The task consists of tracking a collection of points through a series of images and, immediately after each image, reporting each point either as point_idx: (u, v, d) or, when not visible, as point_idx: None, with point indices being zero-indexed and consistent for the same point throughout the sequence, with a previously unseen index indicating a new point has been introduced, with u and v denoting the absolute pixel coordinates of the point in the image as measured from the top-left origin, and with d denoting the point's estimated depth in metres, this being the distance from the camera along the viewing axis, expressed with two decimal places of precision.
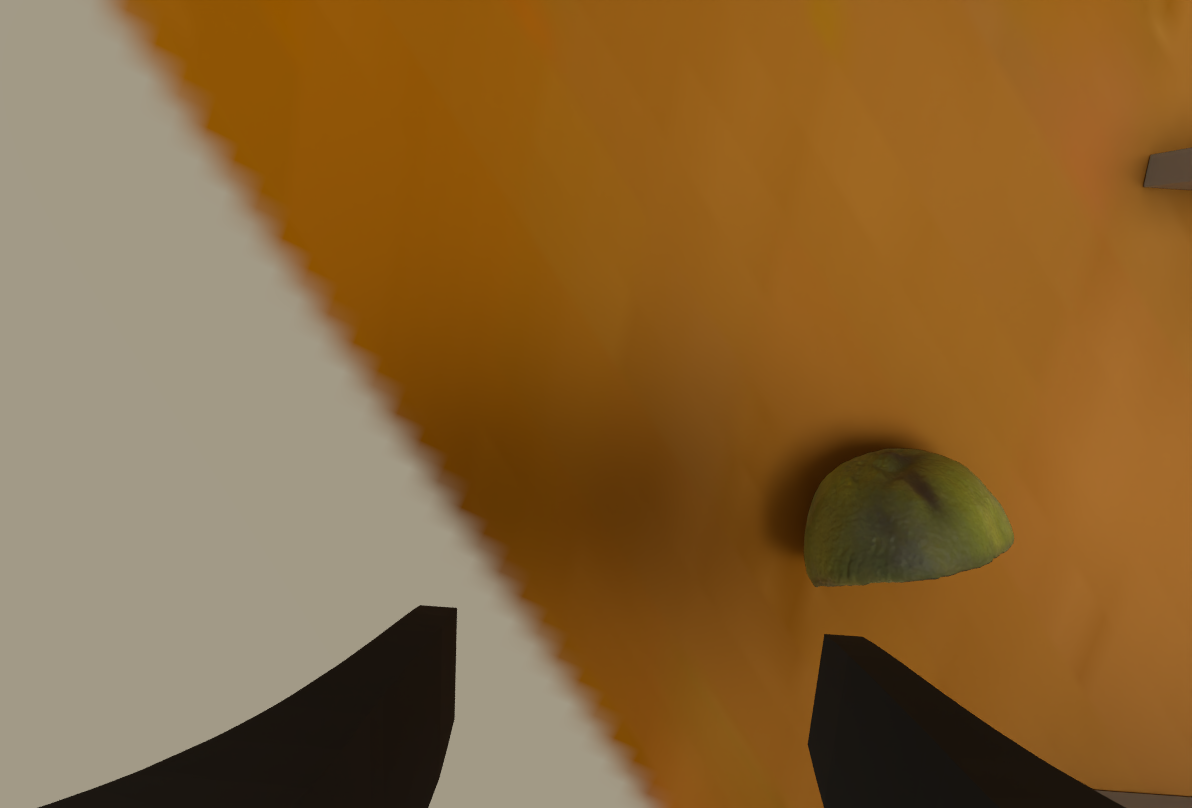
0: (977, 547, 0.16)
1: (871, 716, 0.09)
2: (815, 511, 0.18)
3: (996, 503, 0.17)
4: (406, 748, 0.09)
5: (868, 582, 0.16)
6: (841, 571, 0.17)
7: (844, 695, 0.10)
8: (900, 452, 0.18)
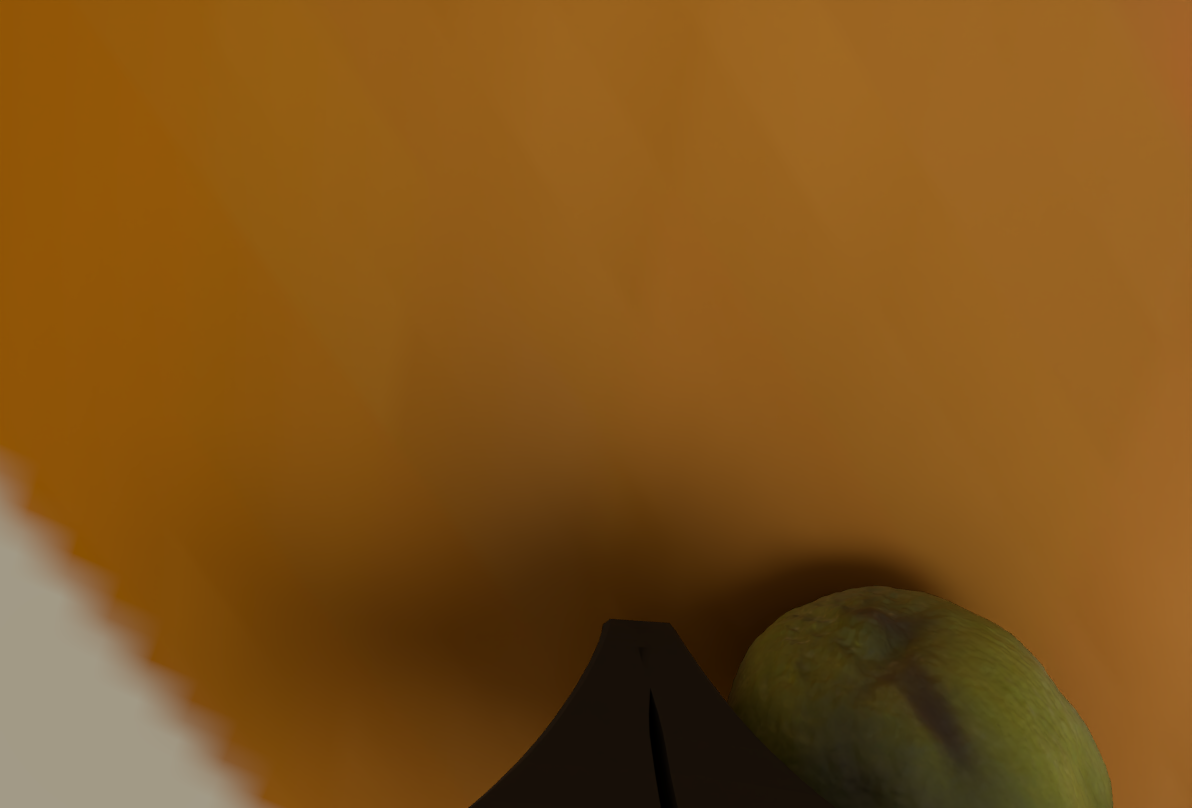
0: None
1: None
2: None
3: (1078, 727, 0.08)
4: None
5: None
6: None
7: None
8: (890, 605, 0.10)
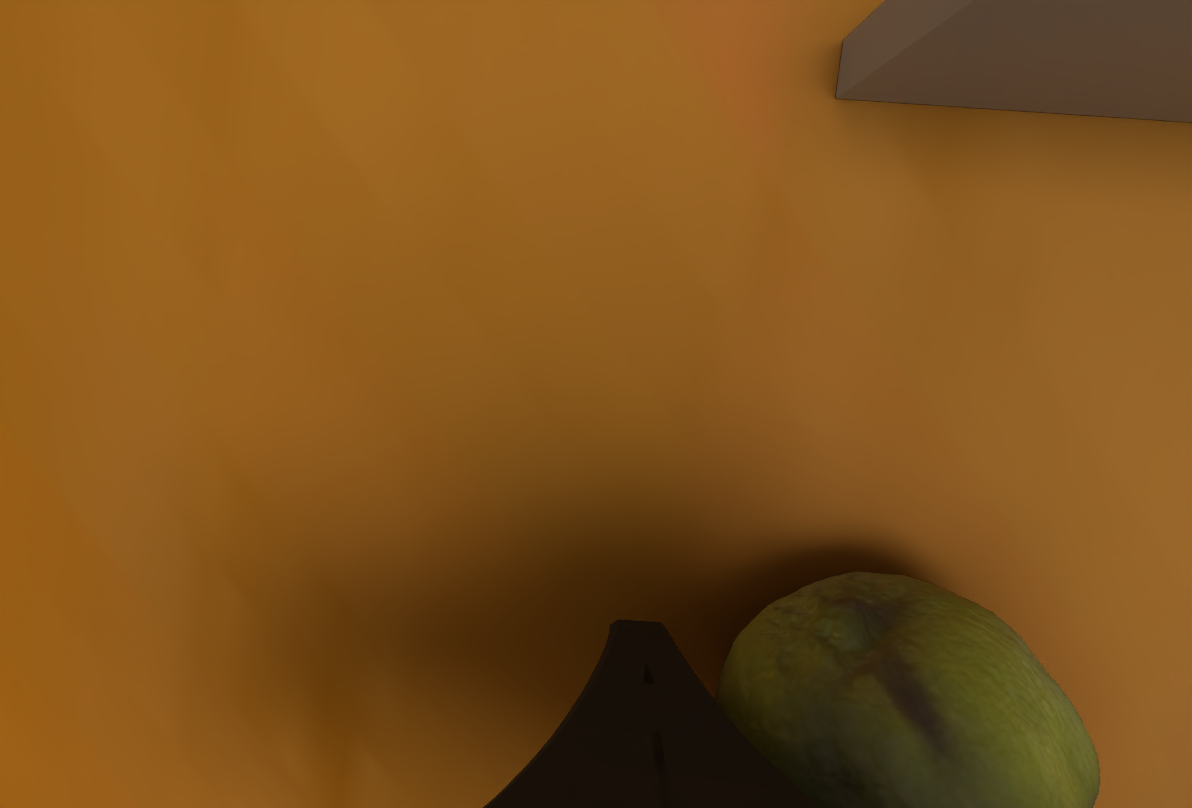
0: None
1: None
2: None
3: (1061, 704, 0.08)
4: None
5: None
6: None
7: None
8: (869, 592, 0.10)
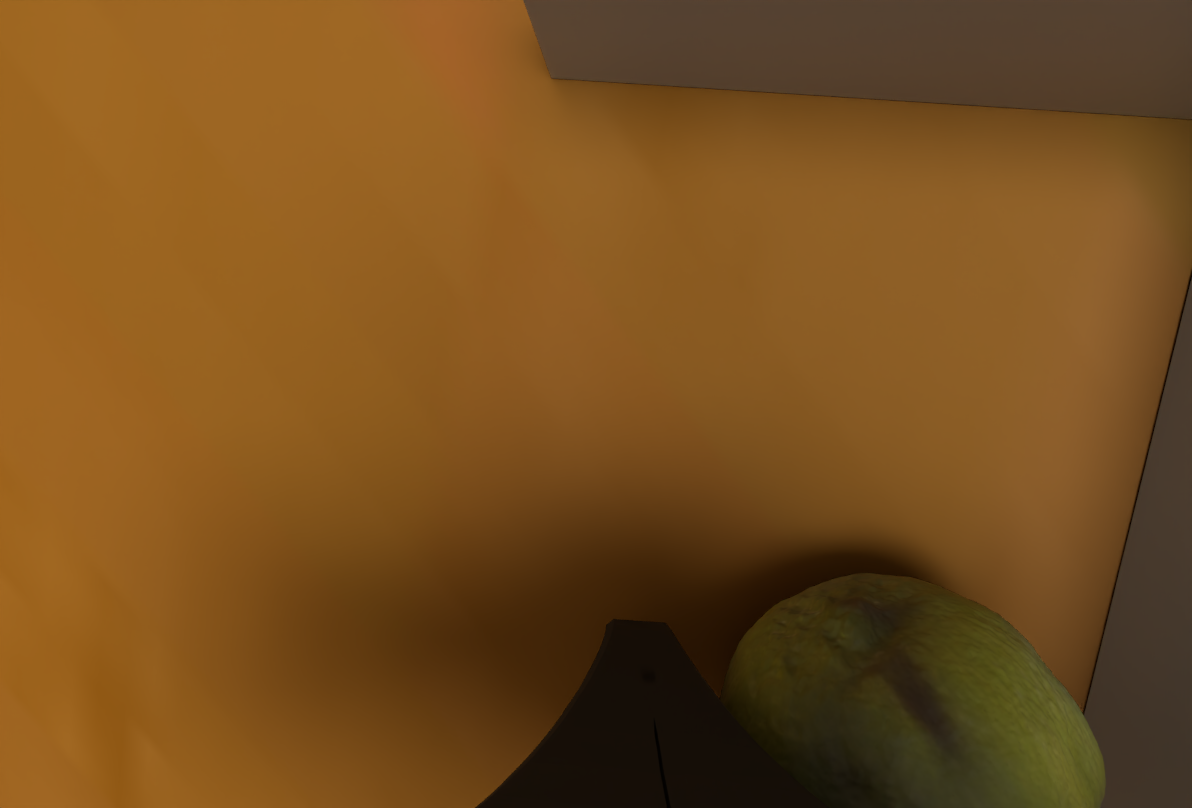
0: None
1: None
2: None
3: (1068, 706, 0.08)
4: None
5: None
6: None
7: None
8: (876, 593, 0.10)
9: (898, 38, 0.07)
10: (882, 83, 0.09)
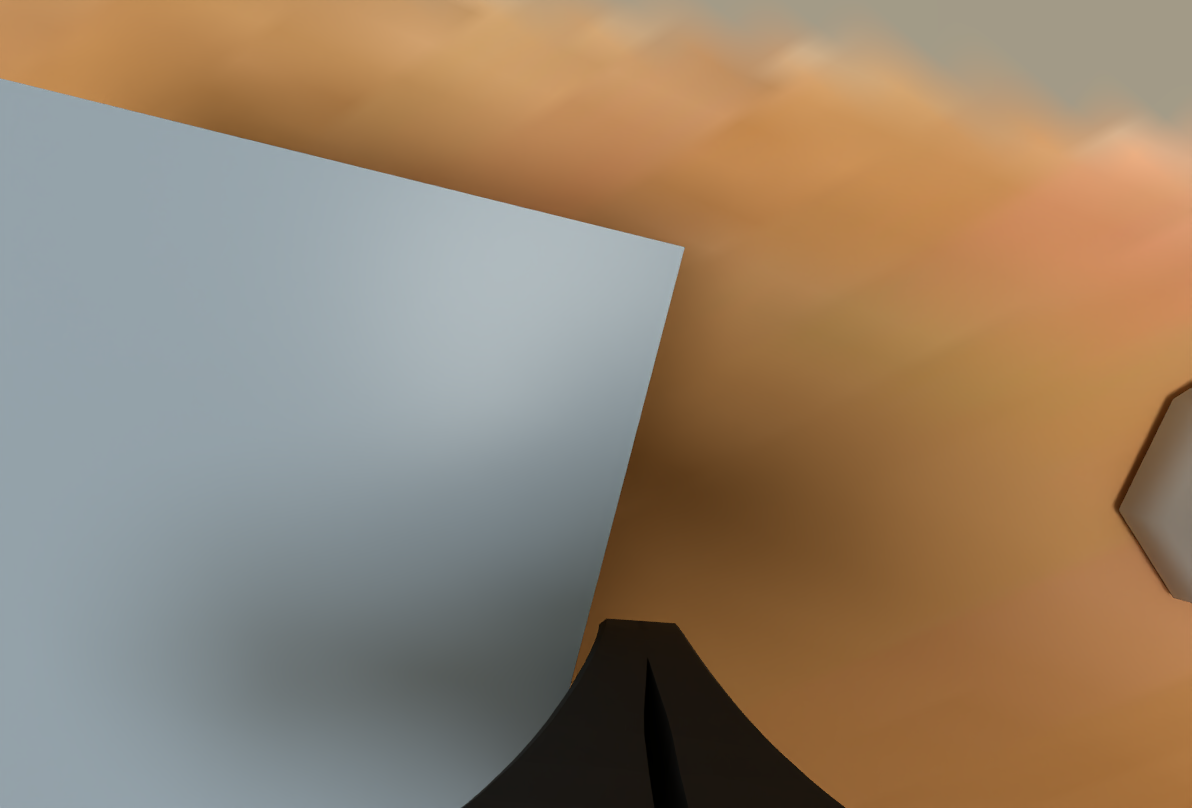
0: None
1: (647, 700, 0.09)
2: None
3: None
4: None
5: None
6: None
7: None
8: None
9: None
10: None
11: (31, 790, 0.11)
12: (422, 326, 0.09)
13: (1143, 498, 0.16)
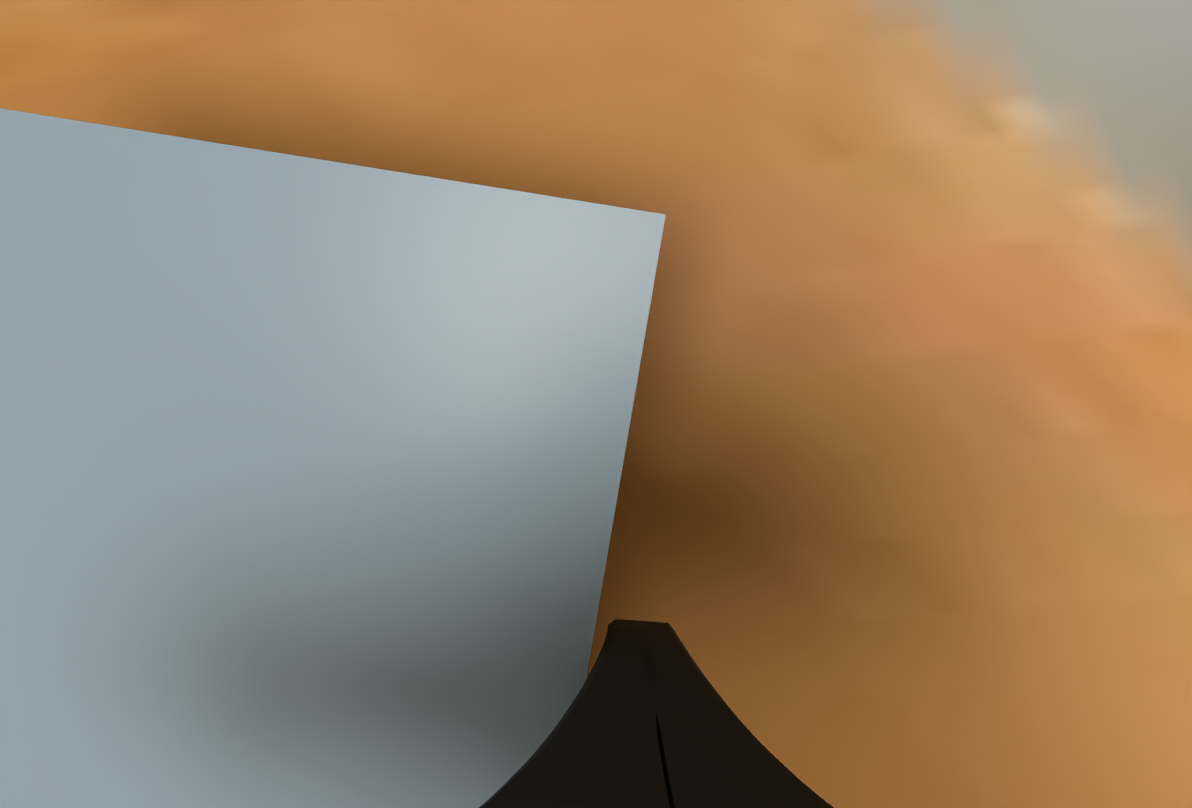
0: None
1: None
2: None
3: None
4: None
5: None
6: None
7: None
8: None
9: None
10: None
11: None
12: (409, 317, 0.09)
13: None
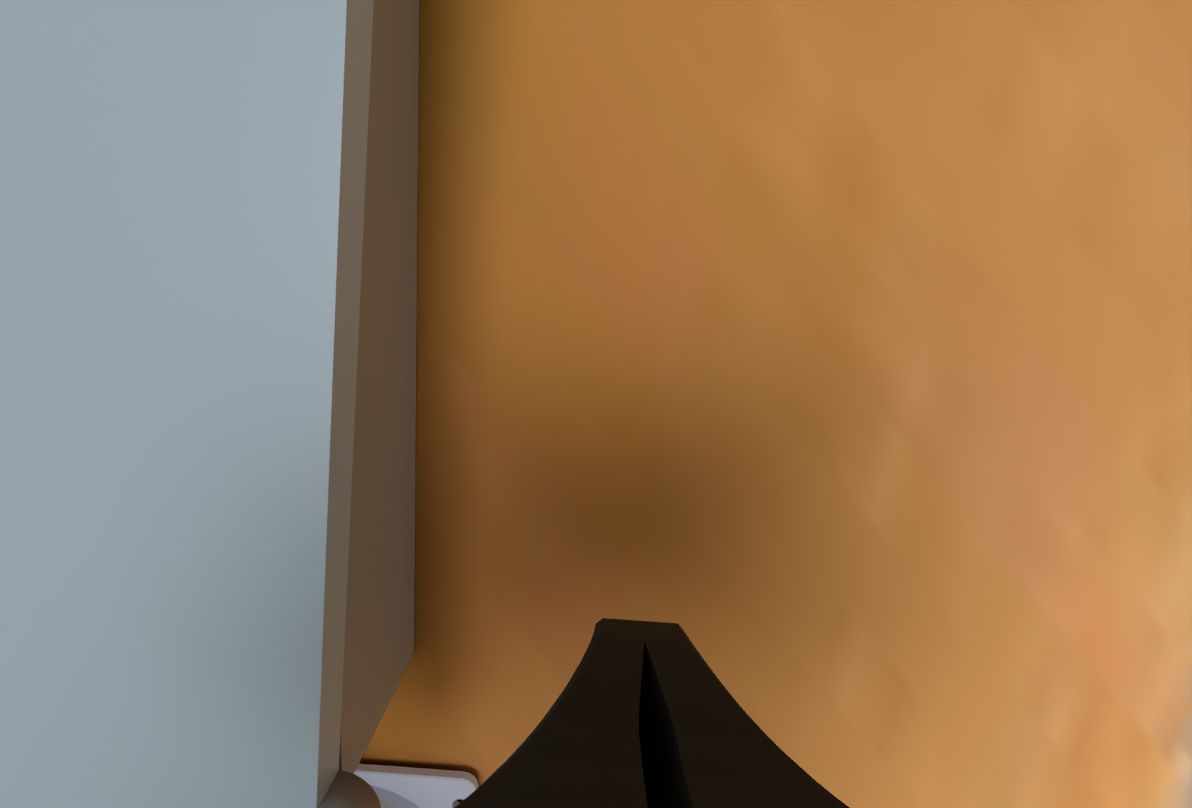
0: None
1: (651, 700, 0.09)
2: None
3: None
4: None
5: None
6: None
7: (642, 680, 0.10)
8: None
9: None
10: None
11: None
12: None
13: None
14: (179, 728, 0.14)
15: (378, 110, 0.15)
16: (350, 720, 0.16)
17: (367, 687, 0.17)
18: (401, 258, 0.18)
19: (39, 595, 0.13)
